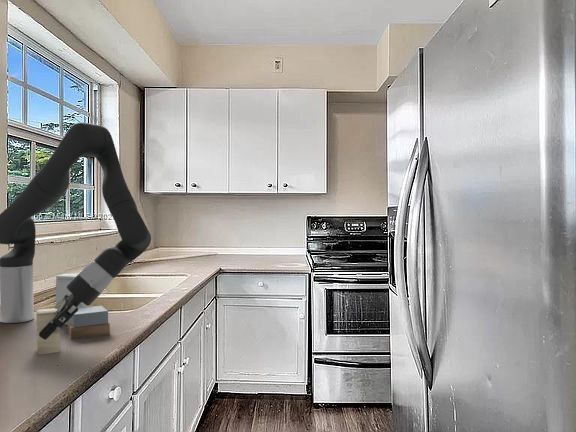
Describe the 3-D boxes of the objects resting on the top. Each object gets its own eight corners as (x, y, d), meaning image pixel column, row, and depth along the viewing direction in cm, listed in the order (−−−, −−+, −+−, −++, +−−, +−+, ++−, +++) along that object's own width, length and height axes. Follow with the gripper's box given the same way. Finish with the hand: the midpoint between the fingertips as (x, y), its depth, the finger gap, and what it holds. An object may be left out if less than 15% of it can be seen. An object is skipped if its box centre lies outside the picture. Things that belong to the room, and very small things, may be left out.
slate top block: (68, 321, 146) (68, 308, 146) (101, 317, 150) (101, 305, 150) (73, 327, 138) (73, 314, 138) (108, 323, 143) (108, 310, 143)
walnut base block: (67, 332, 146) (67, 320, 146) (104, 328, 151) (104, 316, 151) (71, 341, 138) (70, 328, 138) (109, 336, 142) (109, 323, 142)
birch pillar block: (37, 349, 128) (36, 309, 128) (58, 346, 131) (58, 307, 130) (37, 354, 124) (37, 313, 124) (60, 351, 126) (59, 311, 126)
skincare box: (54, 325, 153) (53, 276, 153) (62, 320, 159) (61, 273, 159) (82, 324, 154) (82, 275, 153) (89, 320, 160) (89, 273, 159)
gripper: (76, 270, 136) (28, 318, 131) (82, 276, 124) (29, 331, 119) (98, 288, 139) (51, 336, 134) (105, 296, 126) (54, 350, 121)
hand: (41, 333), depth 126 cm, fingers open, 6 cm apart
